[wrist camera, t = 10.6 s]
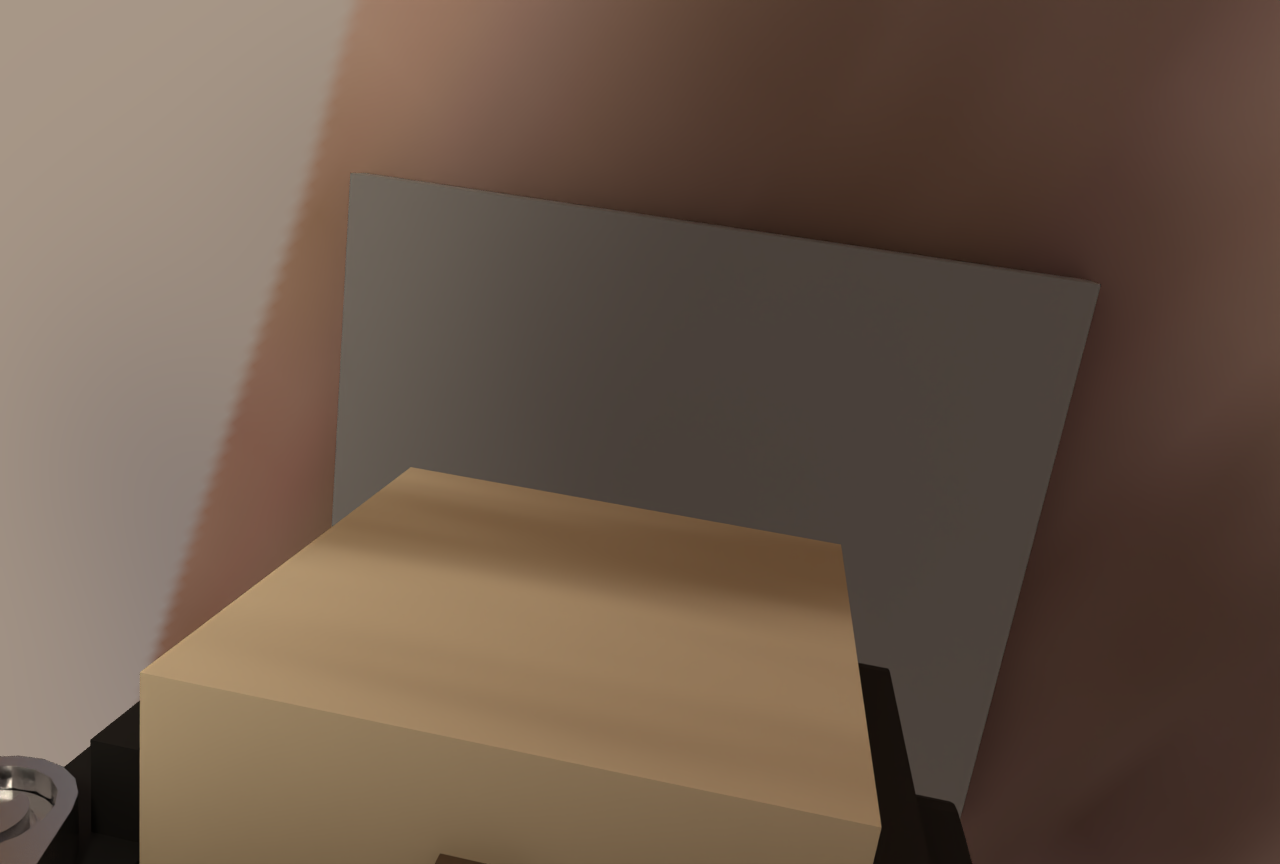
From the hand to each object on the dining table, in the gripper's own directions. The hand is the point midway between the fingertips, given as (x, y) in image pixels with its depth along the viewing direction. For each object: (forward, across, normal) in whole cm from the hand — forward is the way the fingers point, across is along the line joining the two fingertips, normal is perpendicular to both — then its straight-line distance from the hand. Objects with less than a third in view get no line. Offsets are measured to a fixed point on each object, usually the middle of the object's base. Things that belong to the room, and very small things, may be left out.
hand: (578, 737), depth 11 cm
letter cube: (+1, 0, 0) cm, 1 cm away
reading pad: (+7, 0, 0) cm, 7 cm away
